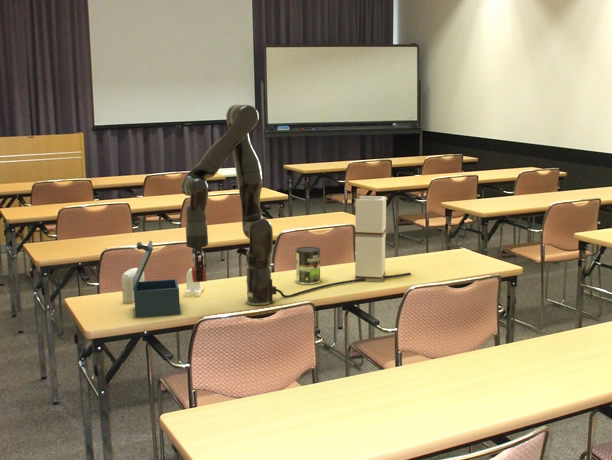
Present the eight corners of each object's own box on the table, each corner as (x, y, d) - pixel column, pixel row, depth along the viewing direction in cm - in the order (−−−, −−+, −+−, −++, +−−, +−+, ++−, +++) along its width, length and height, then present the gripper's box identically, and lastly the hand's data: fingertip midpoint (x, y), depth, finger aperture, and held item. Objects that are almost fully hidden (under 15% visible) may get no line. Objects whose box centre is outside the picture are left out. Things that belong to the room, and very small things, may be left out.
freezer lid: (151, 241, 281) (138, 236, 279) (153, 248, 268) (139, 243, 266) (134, 281, 282) (121, 276, 280) (135, 290, 269) (121, 285, 267)
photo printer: (130, 304, 287) (128, 272, 285) (121, 302, 289) (119, 271, 287) (147, 296, 297) (145, 266, 294) (138, 295, 298) (136, 265, 296)
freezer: (177, 303, 288) (176, 279, 286) (180, 314, 275) (178, 288, 273) (135, 307, 283) (133, 281, 281) (135, 318, 271) (133, 291, 269)
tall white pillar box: (385, 275, 331) (386, 196, 324) (381, 281, 320) (382, 200, 313) (359, 274, 333) (360, 195, 326) (355, 280, 322) (355, 199, 315)
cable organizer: (202, 289, 307) (201, 265, 305) (199, 296, 298) (198, 271, 296) (189, 289, 307) (188, 266, 305) (185, 296, 297) (184, 272, 295)
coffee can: (325, 281, 320) (325, 249, 317) (306, 286, 313) (305, 252, 311) (310, 277, 328) (310, 245, 325) (291, 281, 321) (290, 248, 318)
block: (204, 278, 274) (204, 266, 273) (206, 281, 270) (205, 269, 269) (192, 279, 273) (191, 267, 272) (193, 282, 269) (192, 270, 268)
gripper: (209, 236, 263) (212, 283, 266) (205, 228, 276) (207, 273, 279) (187, 237, 260) (190, 285, 264) (184, 229, 274) (187, 275, 277)
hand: (199, 279), depth 272 cm, fingers closed on block, 4 cm apart
